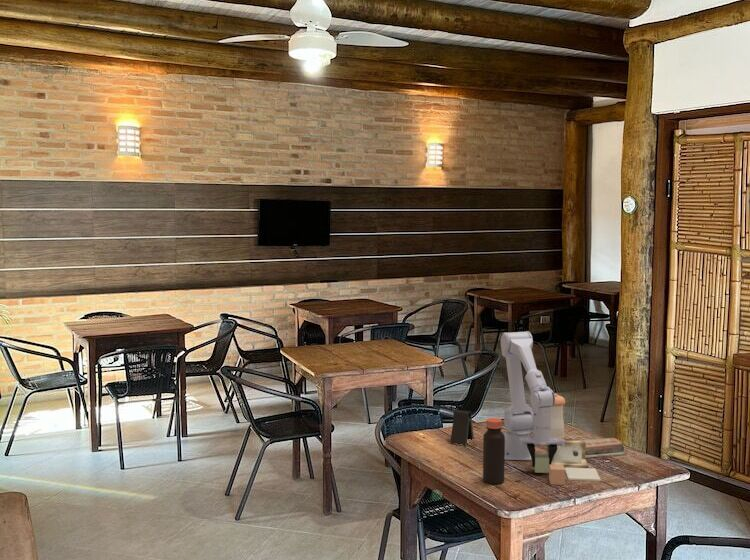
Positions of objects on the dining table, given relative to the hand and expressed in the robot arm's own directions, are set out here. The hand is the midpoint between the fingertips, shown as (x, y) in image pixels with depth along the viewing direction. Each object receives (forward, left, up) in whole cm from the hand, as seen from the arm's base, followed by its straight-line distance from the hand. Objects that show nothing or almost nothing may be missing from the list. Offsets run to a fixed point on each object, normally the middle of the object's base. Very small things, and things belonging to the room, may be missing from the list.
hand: (541, 466), depth 245 cm
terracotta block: (+4, -8, -2) cm, 9 cm away
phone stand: (-26, +30, -2) cm, 40 cm away
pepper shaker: (+8, +30, -2) cm, 31 cm away
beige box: (+10, +9, -2) cm, 13 cm away
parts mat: (+13, -1, -2) cm, 13 cm away
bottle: (-16, -9, -2) cm, 19 cm away
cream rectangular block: (+10, +9, -1) cm, 13 cm away
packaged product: (+22, +22, -3) cm, 31 cm away
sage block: (0, 0, -2) cm, 2 cm away
